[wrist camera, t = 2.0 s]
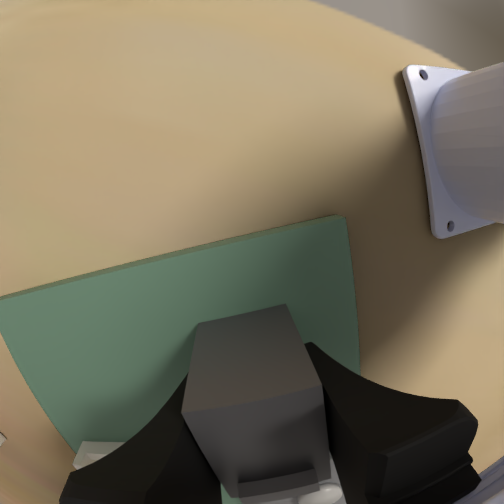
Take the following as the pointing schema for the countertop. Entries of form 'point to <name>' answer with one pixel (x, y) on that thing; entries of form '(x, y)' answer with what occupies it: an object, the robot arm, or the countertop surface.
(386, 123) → the countertop surface
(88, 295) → the board
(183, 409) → the plug
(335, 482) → the grey knob block
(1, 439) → the condiment
